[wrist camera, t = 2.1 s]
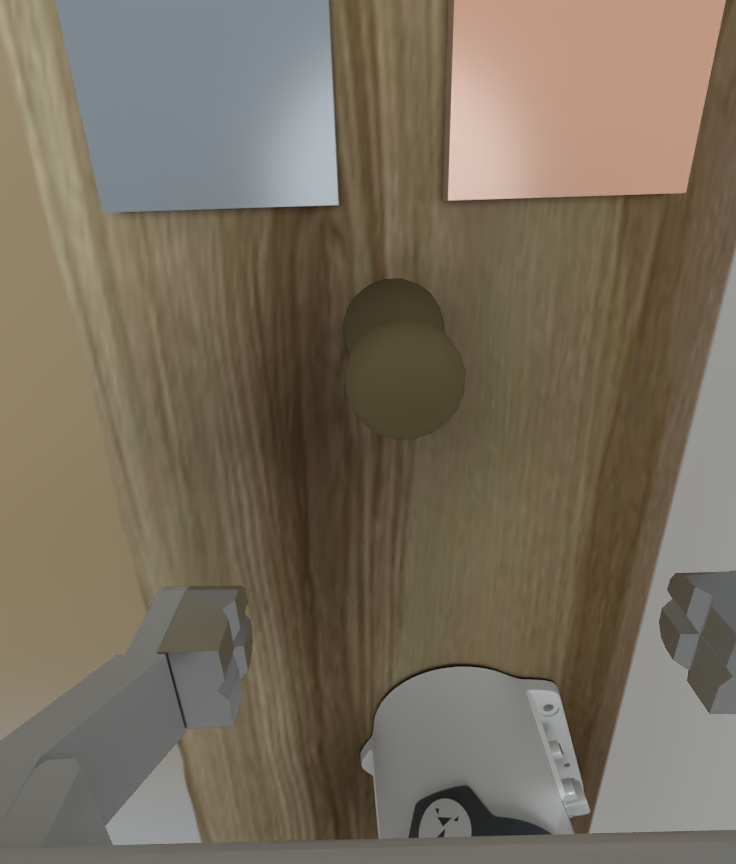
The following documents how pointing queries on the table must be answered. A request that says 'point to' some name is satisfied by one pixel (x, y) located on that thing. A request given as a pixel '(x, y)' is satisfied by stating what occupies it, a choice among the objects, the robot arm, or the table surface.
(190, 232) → the table surface
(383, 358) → the olive rounded tall piece
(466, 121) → the terracotta tile
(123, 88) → the steel tile
